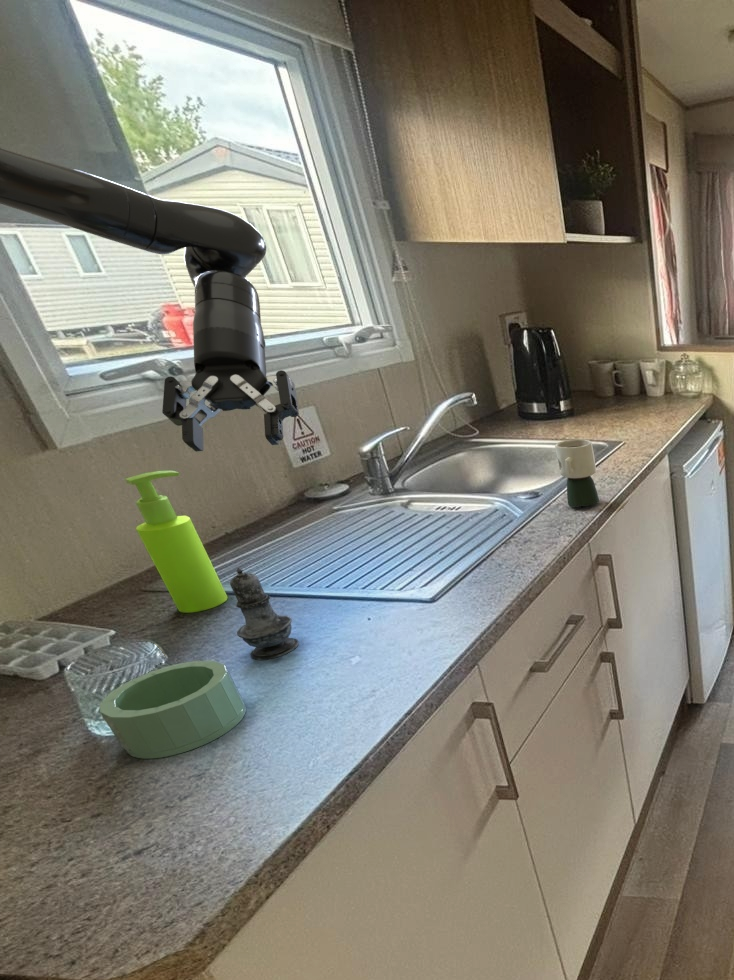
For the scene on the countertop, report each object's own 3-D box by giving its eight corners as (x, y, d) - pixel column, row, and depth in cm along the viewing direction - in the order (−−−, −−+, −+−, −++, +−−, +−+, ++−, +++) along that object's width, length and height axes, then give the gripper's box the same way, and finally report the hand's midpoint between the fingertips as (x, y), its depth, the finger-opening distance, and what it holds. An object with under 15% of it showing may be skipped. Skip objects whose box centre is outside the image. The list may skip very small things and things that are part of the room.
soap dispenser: (242, 597, 101) (184, 471, 92) (188, 616, 96) (120, 484, 87) (225, 588, 104) (166, 465, 95) (171, 607, 99) (103, 478, 89)
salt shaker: (236, 658, 86) (196, 575, 80) (277, 635, 91) (242, 556, 85) (272, 663, 85) (233, 580, 79) (312, 640, 90) (278, 560, 84)
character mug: (575, 496, 142) (564, 436, 136) (608, 496, 142) (598, 436, 136) (558, 514, 132) (546, 450, 126) (593, 514, 132) (583, 450, 126)
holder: (105, 769, 67) (77, 727, 65) (152, 711, 76) (129, 671, 73) (227, 744, 71) (204, 703, 68) (259, 691, 79) (240, 653, 77)
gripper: (148, 327, 86) (149, 435, 82) (277, 322, 90) (284, 424, 86) (184, 364, 92) (186, 465, 88) (302, 358, 97) (309, 454, 93)
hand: (234, 445), depth 87 cm, fingers open, 8 cm apart
